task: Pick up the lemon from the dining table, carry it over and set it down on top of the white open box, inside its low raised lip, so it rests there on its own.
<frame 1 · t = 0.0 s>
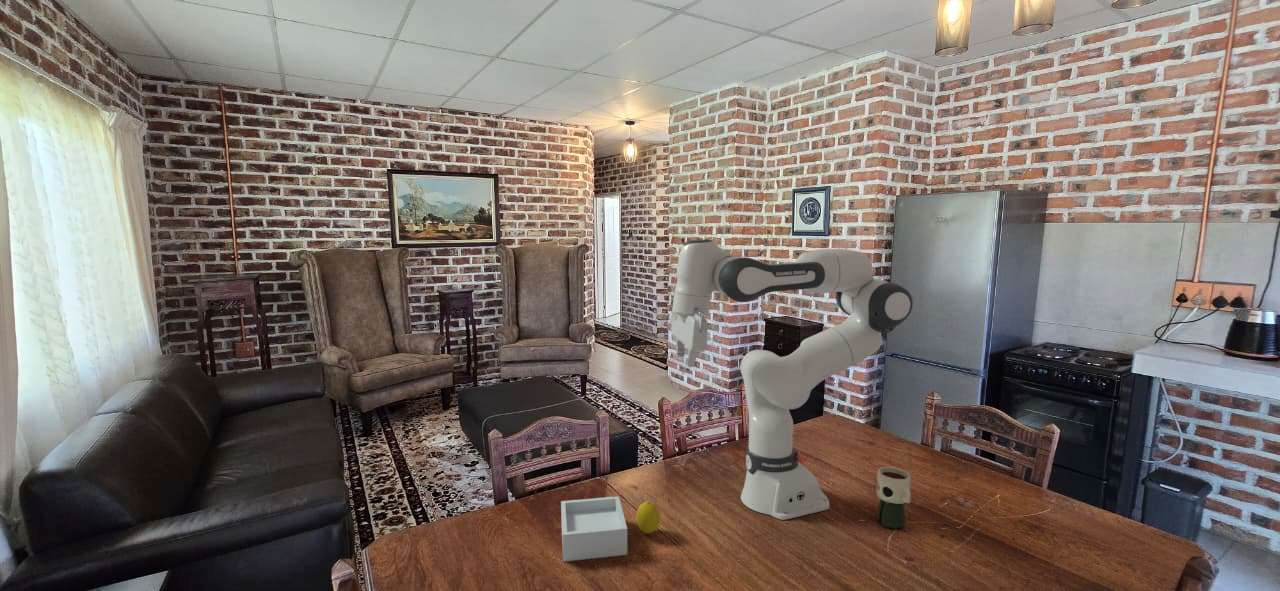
hand: (685, 361, 128), 39 cm above the table, tool pointing down, fingers open, 8 cm apart
lemon: (648, 534, 123), on the table
white open box: (592, 540, 121), on the table
character mug: (890, 524, 127), on the table
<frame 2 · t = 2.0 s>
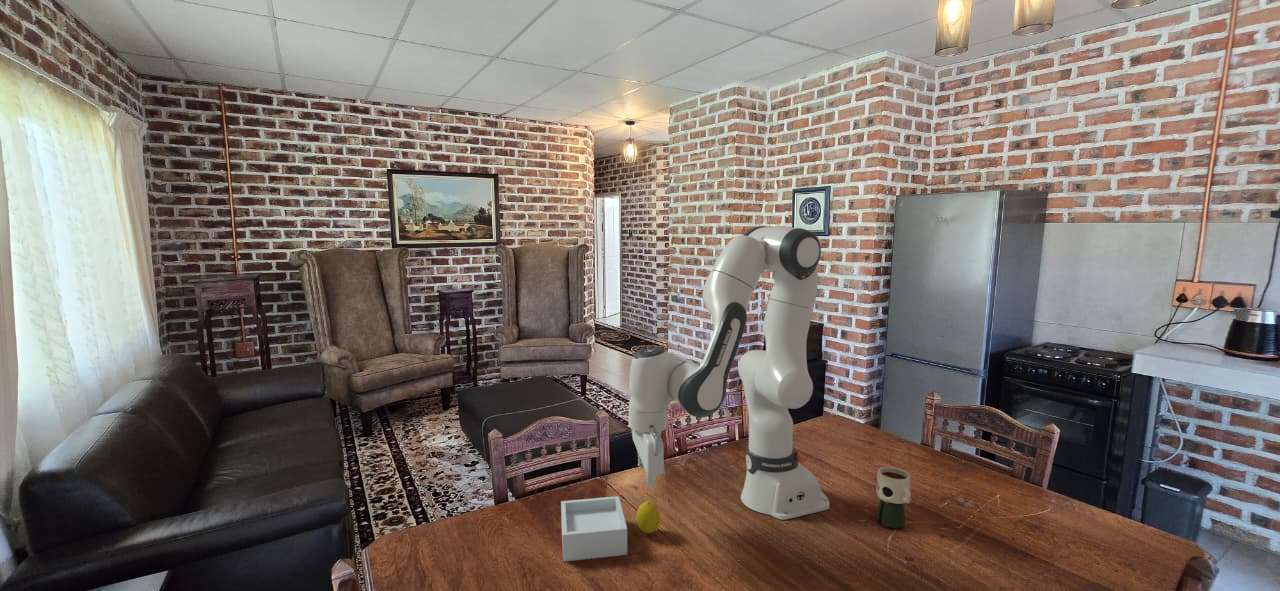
hand: (646, 475, 121), 14 cm above the table, tool pointing down, fingers open, 8 cm apart
nothing on the table moved.
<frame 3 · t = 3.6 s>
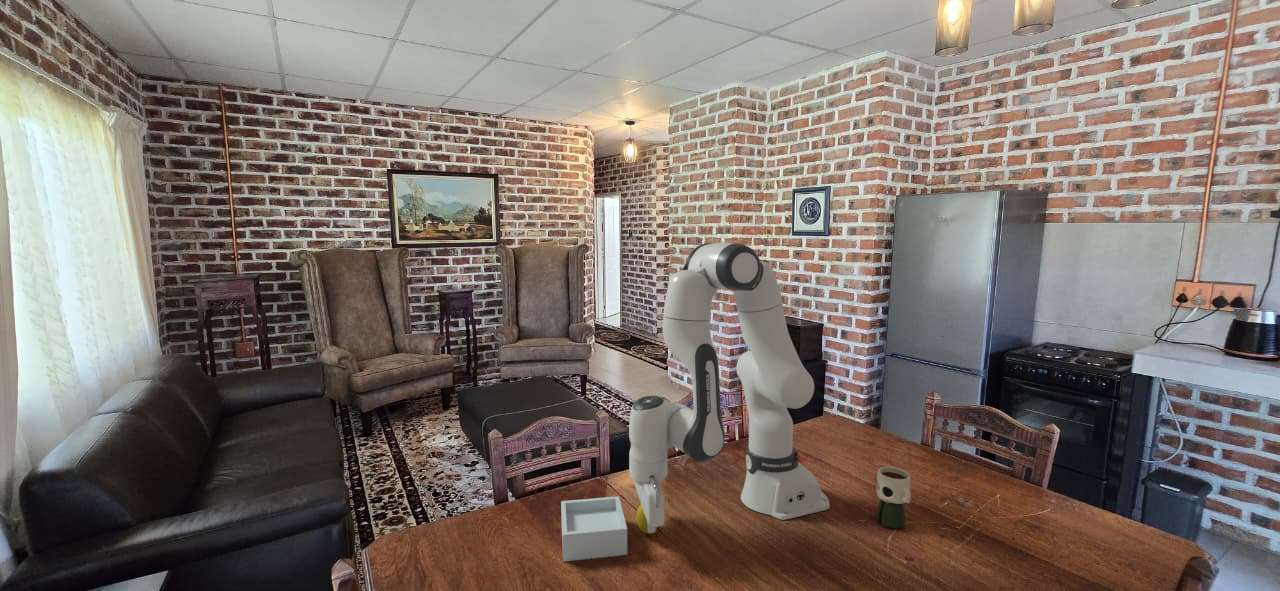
hand: (648, 522, 123), 3 cm above the table, tool pointing down, fingers closed on lemon, 6 cm apart
lemon: (648, 534, 123), on the table, touching gripper
everything else where it was.
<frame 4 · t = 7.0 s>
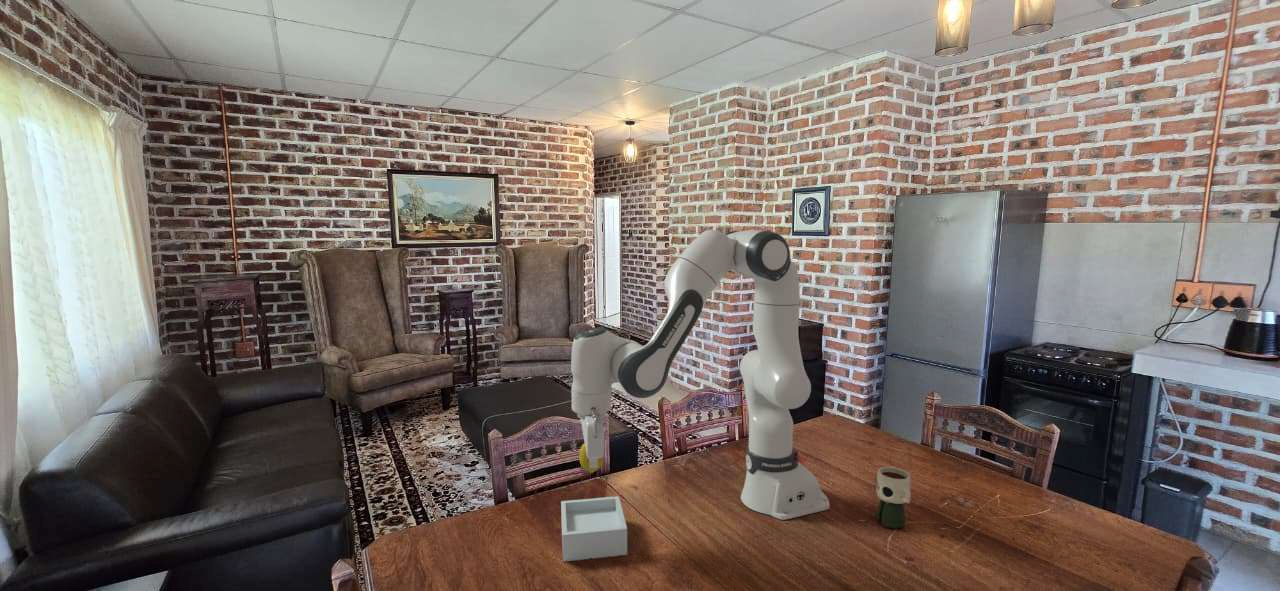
hand: (592, 459, 118), 19 cm above the table, tool pointing down, fingers closed on lemon, 5 cm apart
lemon: (591, 473, 118), point 16 cm above the table, touching gripper
everything else where it was.
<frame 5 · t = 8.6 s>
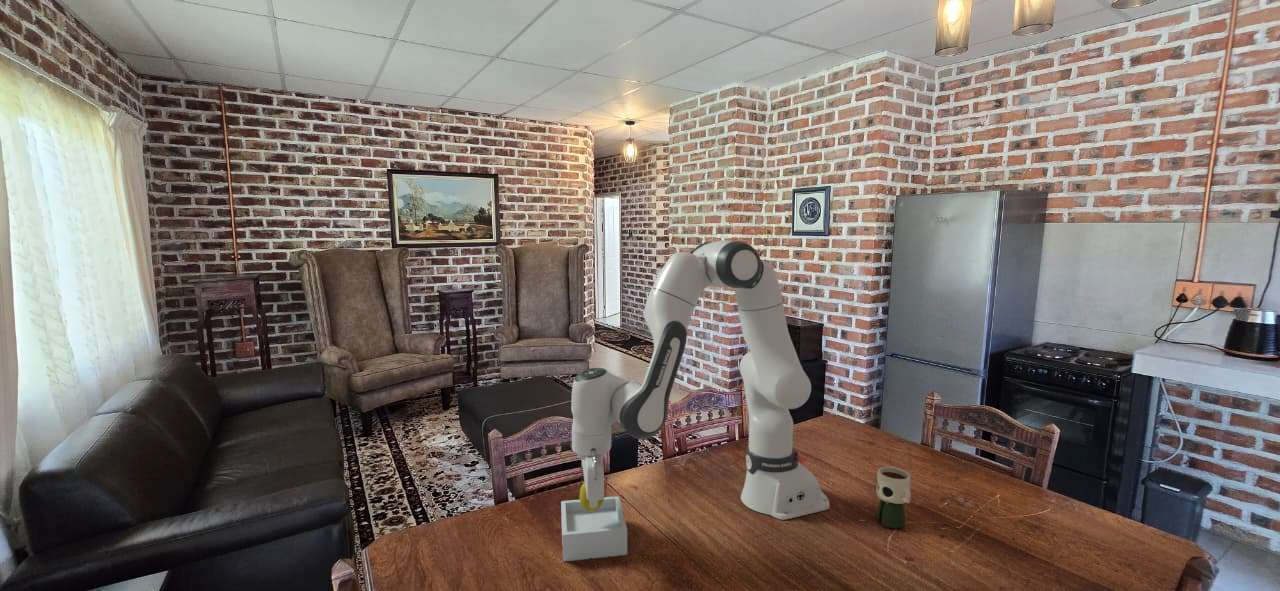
hand: (592, 498, 119), 10 cm above the table, tool pointing down, fingers closed on lemon, 5 cm apart
lemon: (591, 512, 120), point 6 cm above the table, touching gripper
everything else where it was.
when the fingers open (8 cm above the table, at t = 9.9 s): lemon drops 1 cm, resting on white open box.
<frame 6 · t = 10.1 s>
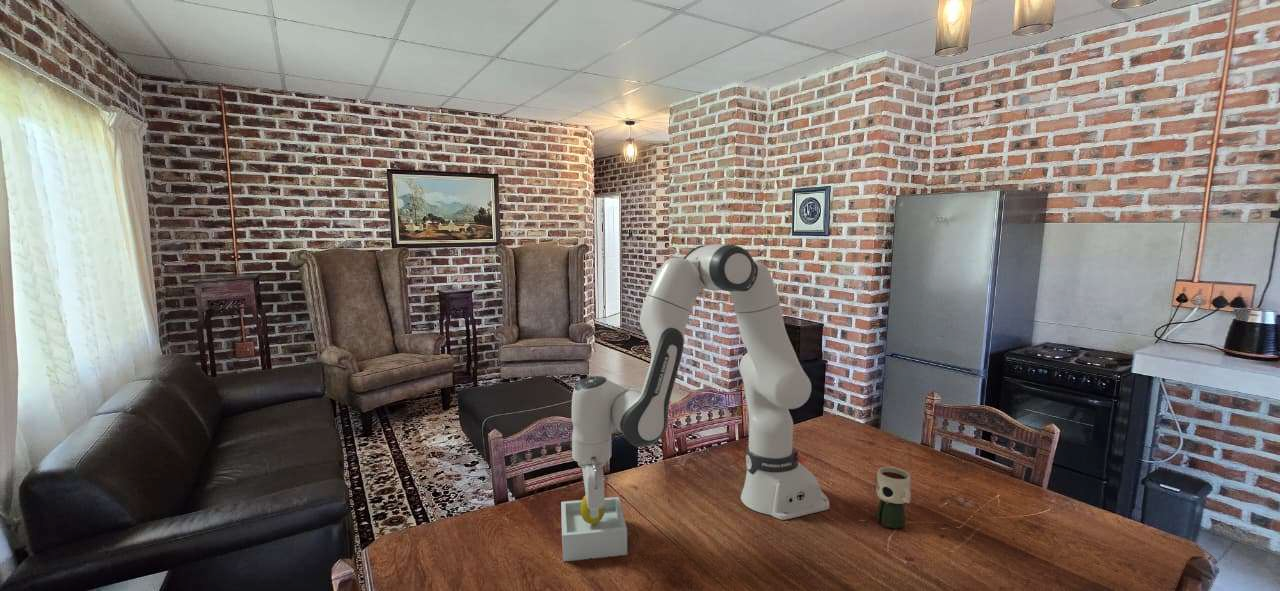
hand: (592, 506, 120), 8 cm above the table, tool pointing down, fingers open, 7 cm apart
lemon: (592, 525, 120), point 3 cm above the table, touching white open box
white open box: (592, 541, 121), on the table, touching lemon
everything else where it was.
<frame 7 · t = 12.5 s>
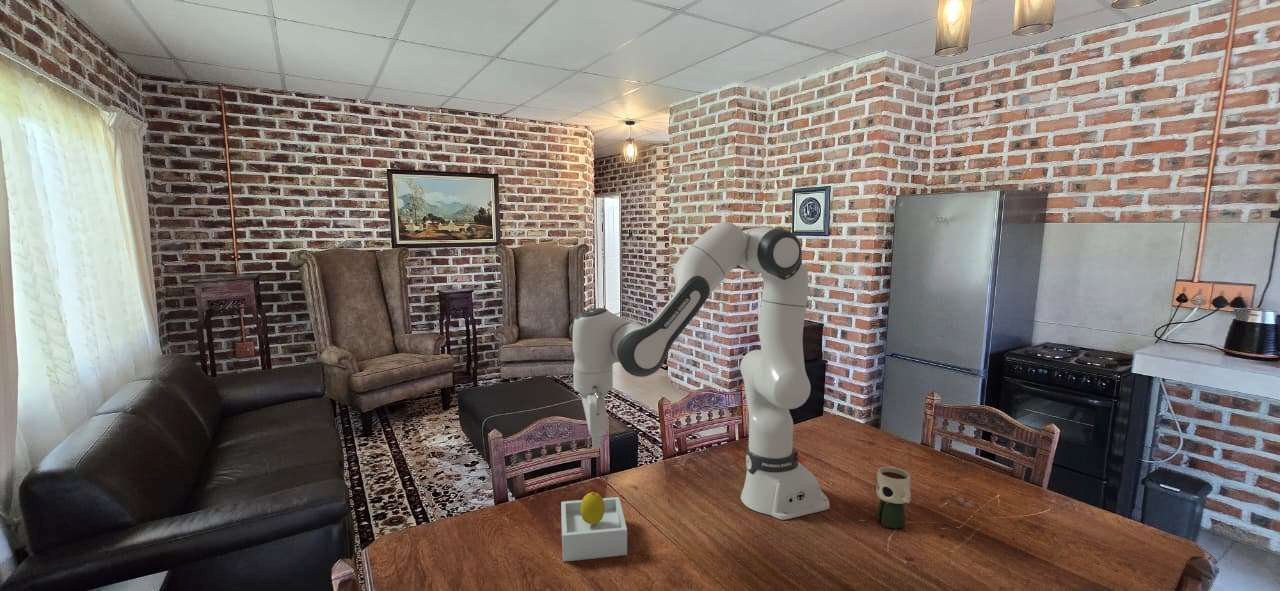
hand: (594, 439, 119), 23 cm above the table, tool pointing down, fingers open, 8 cm apart
nothing on the table moved.
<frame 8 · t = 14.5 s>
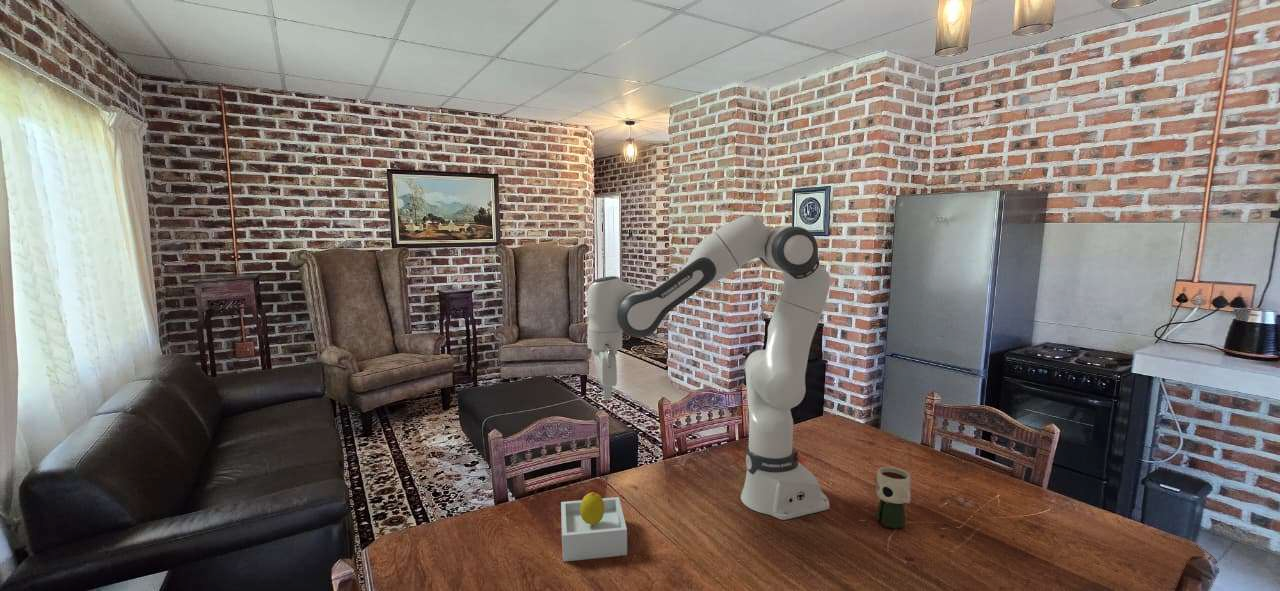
hand: (605, 393, 134), 29 cm above the table, tool pointing down, fingers open, 8 cm apart
nothing on the table moved.
at the end: lemon inside the target area on the white open box (0.0 cm from its centre), point 3.8 cm above the white open box's base; lemon touching white open box; the gripper is holding nothing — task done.
